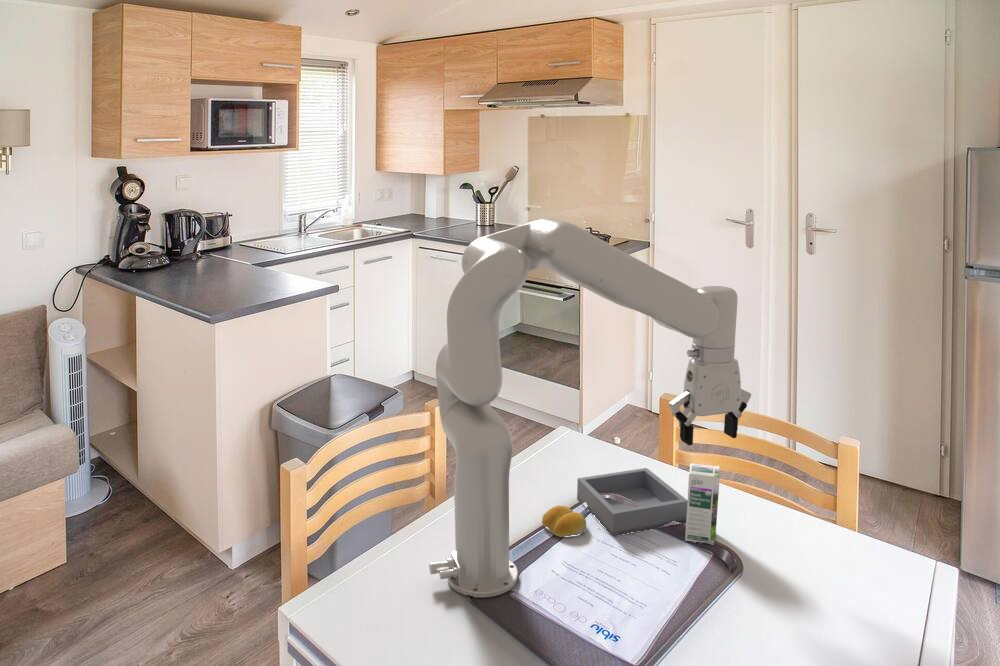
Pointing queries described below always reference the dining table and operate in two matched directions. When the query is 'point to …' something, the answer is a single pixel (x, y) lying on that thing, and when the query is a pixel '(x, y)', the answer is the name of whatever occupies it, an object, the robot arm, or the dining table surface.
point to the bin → (639, 487)
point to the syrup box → (702, 503)
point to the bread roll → (564, 521)
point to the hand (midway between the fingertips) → (708, 439)
